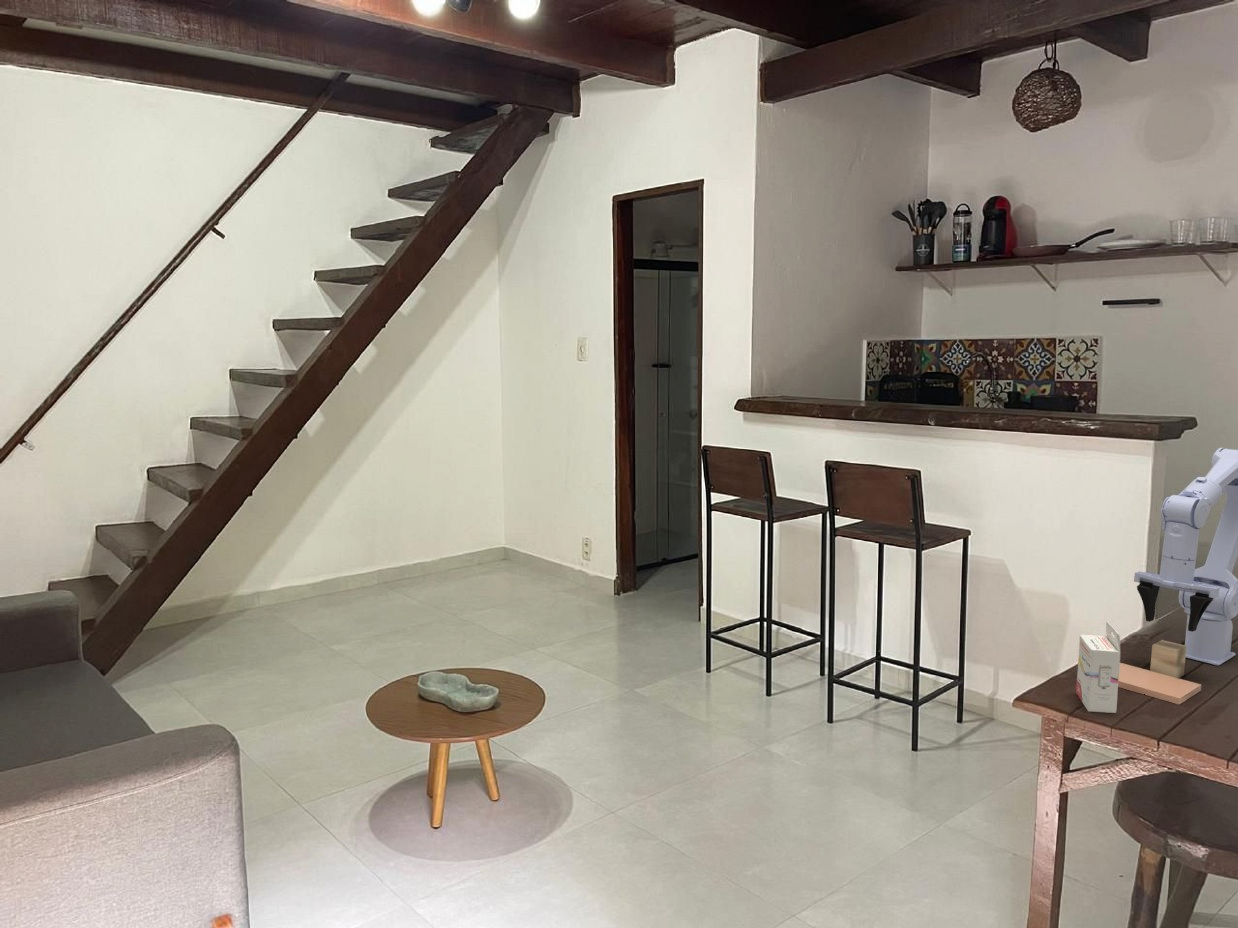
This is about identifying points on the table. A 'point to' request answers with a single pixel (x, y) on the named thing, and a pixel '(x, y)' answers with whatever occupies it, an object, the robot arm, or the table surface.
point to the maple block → (1168, 658)
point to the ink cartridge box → (1099, 671)
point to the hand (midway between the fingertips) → (1170, 625)
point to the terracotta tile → (1156, 684)
